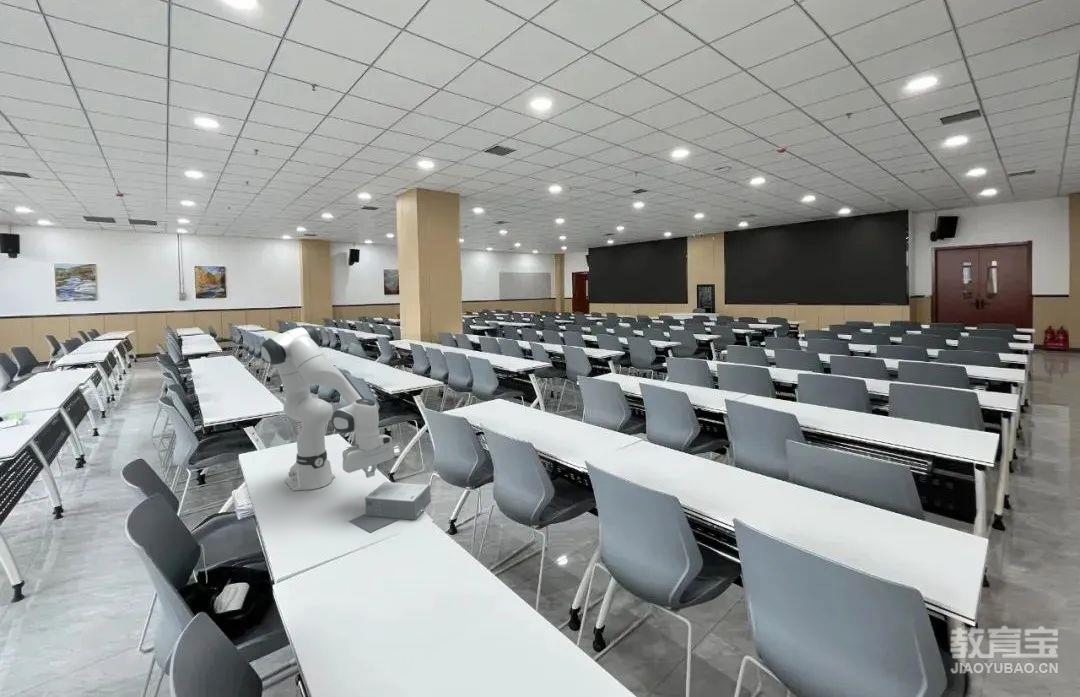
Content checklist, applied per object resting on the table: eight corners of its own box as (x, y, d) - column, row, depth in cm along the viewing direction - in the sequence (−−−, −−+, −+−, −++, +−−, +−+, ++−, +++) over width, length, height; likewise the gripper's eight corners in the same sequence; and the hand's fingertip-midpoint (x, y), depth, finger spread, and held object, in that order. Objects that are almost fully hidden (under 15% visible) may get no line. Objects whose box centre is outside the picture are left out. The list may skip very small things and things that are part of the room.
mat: (348, 521, 188) (348, 520, 188) (398, 500, 205) (398, 500, 204) (370, 533, 179) (370, 532, 179) (420, 510, 196) (420, 509, 196)
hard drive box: (365, 516, 191) (414, 520, 187) (363, 497, 190) (413, 501, 186) (385, 498, 206) (431, 501, 202) (384, 480, 205) (430, 483, 201)
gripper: (346, 450, 182) (349, 487, 184) (395, 436, 197) (397, 470, 199) (337, 447, 186) (340, 483, 188) (386, 433, 201) (388, 466, 203)
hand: (370, 476), depth 193 cm, fingers closed
